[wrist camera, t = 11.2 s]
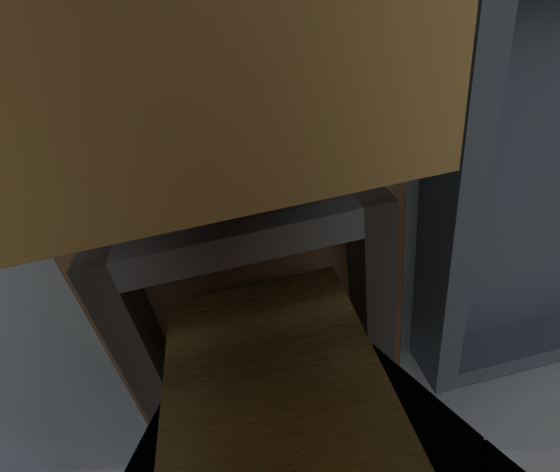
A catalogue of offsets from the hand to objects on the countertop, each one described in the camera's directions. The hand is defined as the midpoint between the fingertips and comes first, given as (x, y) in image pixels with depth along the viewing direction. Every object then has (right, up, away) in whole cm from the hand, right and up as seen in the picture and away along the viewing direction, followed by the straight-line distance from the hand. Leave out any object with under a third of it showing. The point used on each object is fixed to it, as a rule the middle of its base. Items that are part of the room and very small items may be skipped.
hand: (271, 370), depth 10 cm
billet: (0, 0, +1) cm, 1 cm away
